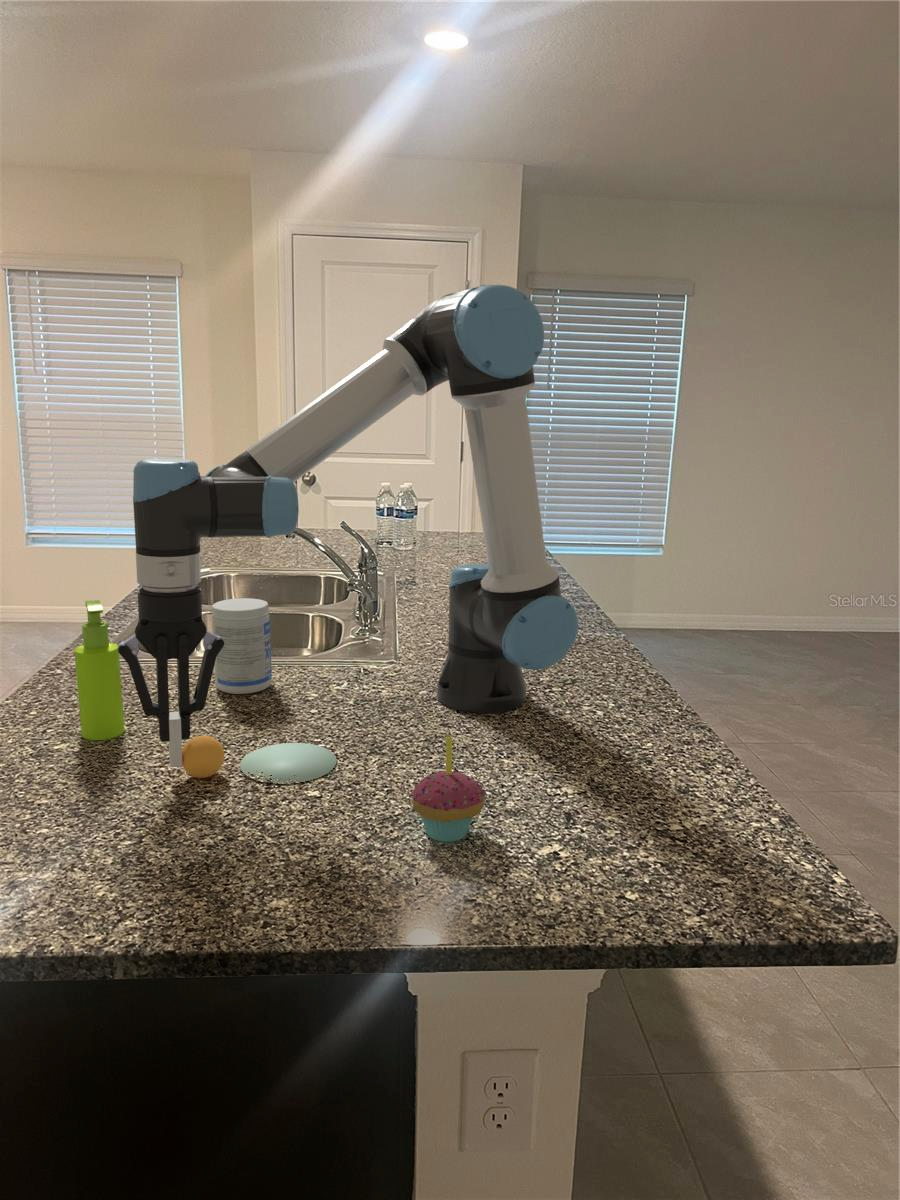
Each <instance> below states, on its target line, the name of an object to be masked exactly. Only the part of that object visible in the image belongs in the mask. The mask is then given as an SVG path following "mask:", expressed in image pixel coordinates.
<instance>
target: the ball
mask: <svg viewBox="0 0 900 1200" xmlns="http://www.w3.org/2000/svg"><path fill="white" fill-rule="evenodd" d="M224 762H225V751H224V747H223V744H222V743H221V742H220V741H219V740H218V739H217V738H215V737H213V736H210V735H197V736H195V737H192V738H191V739H190V740H188V741H187V742H186V743H185V745H184V746H183V747H182V766H181V767H182V768H183V769H184V770H185V772H186V773H187V774H188V775H190V776H192V777H194V778H198V779H206V778H209V777H211V776H213V775H215V774H217V773H218V772H219V771H220V769H221V768H222V766H223V764H224Z"/></svg>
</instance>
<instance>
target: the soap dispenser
mask: <svg viewBox="0 0 900 1200" xmlns="http://www.w3.org/2000/svg"><path fill="white" fill-rule="evenodd" d="M84 604H85V608H86V611H87V612H86V613H87V614H86V615H87V621H85V623H83V624H82V625H81V629H82V630H81V631H82V642H83V643H82V645H79V646H77V647H76V648H74V651H73V652H74V661H75V671H76V672H75V673H76V684H77V697H78V698H77V699H78V707H79V708H78V709H79V719H80V720H79V721H80V731H81V733H80V734H81V737H82V738H83V739H85V740H90V741H107V740H109V739H110V740H111V739H114V738H117V737H120V736H121V735H122V734H124V732H125V719H124V704H123V703H124V702H123V691H122V690H123V689H122V677H121V676H122V675H121V664H120V654H119V652H118V643H113V642H110V639H109V638H110V637H109V626H108V625H109V624H108V623H107V622H106V621H103V620H102V619H101V614H103V613H104V609H103V605H102V602H101V600H99V599H97V600H95V599H94V600H84Z"/></svg>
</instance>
